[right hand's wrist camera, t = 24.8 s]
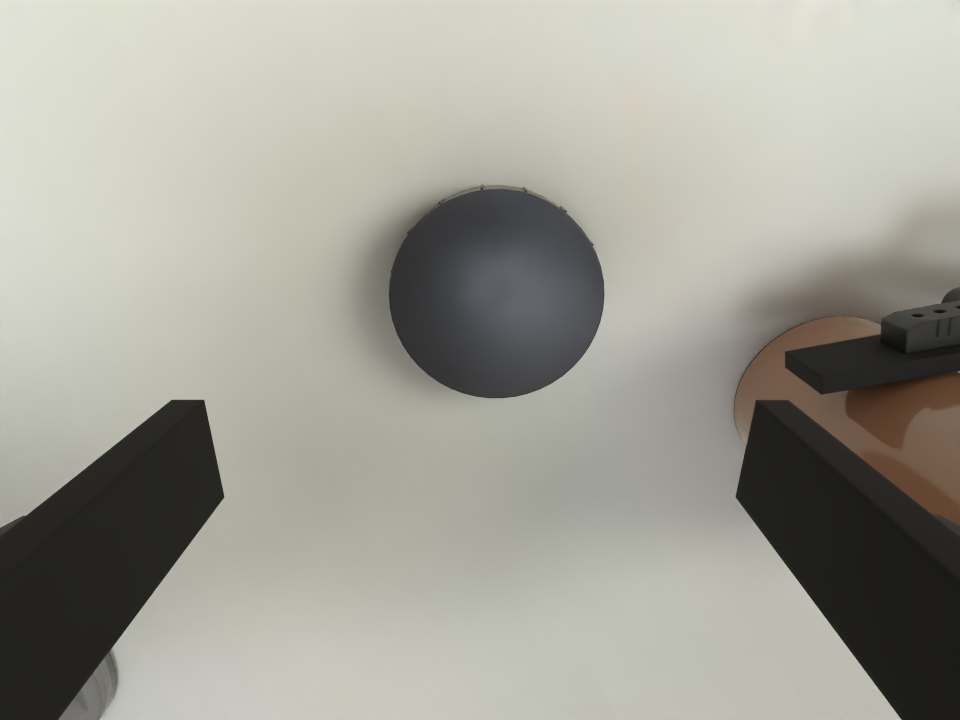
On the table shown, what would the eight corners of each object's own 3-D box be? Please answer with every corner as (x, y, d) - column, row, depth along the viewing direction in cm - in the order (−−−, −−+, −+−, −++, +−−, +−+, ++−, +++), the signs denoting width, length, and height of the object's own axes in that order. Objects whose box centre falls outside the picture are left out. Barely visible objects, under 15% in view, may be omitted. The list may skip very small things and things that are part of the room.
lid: (581, 384, 29) (588, 404, 26) (397, 372, 29) (389, 391, 26) (608, 192, 25) (620, 196, 23) (397, 178, 25) (388, 181, 23)
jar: (713, 358, 28) (1037, 667, 11) (896, 286, 26) (1592, 524, 10) (757, 491, 31) (1065, 891, 14) (923, 435, 29) (1488, 811, 13)
